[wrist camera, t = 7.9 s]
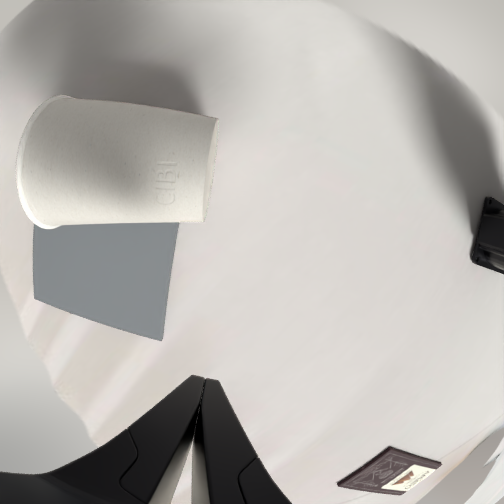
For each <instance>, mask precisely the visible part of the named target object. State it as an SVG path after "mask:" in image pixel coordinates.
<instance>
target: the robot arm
mask: <svg viewBox="0 0 504 504" xmlns="http://www.w3.org/2000/svg"><path fill="white" fill-rule="evenodd" d="M476 258H477V259H476ZM472 262H473V263H474V264H477V265H480V266H482V267H485V268H488V269H491V270H494V271H496V272H499V273H502V274H504V205H503V204H501V203H500V202H498V201H497V200H495V199H494V198H492V197H486V198H485V202H484V208H483V213H482V218H481V223H480V228H479V232H478V237H477V241H476V245H475V249H474V252H473V256H472ZM204 382H205V383H204ZM203 387H204V388H203ZM202 392H203V393H202ZM201 397H202V398H201ZM200 402H201V403H200ZM199 407H200V408H199ZM198 412H199V413H198ZM197 417H198V418H197ZM196 422H197V423H196ZM195 427H196V428H195ZM194 432H195V433H194ZM193 437H194V439H193ZM192 441H193V450H192V504H292V503H291V502H290V501H289V499H288V498H287V497H286V496H285V495H284V494H283V492H282V491H281V490H280V489H279V487H278V486H277V485H276V483H275V482H274V481H273V479H272V478H271V476H270V475H269V473H268V472H267V470H266V469H265V467H264V465H263V463H262V462H261V460H260V458H258V455H257V453H256V451H255V450H254V448H253V446H252V444H251V442H250V441H249V439H248V437H247V435H246V433H245V431H244V429H243V427H242V426H241V424H240V422H239V420H238V418H237V416H236V414H235V412H234V410H233V408H232V406H231V404H230V402H229V400H228V398H227V396H226V394H225V392H224V390H223V388H222V386H221V384H220V382H219V381H218V380H214V379H209V378H206V379H205V378H204V377H200V376H196V375H191V376H190V377H189V378H187V379H186V380H185V381H184V382H183V383H182V384H180V385H179V386H178V387H177V388H176V389H174V390H173V391H172V392H171V393H170V394H169V395H167V396H166V397H165V398H164V399H162V400H161V401H160V402H159V403H158V404H156V405H155V406H154V407H153V408H152V409H150V410H149V411H148V412H147V413H145V414H144V415H143V416H142V417H140V418H139V419H138V420H137V421H135V422H134V423H133V424H132V425H130V426H129V427H128V428H127V429H125V430H124V431H122V432H121V433H120V434H119V435H117V436H116V437H114V438H113V439H112V440H110V441H109V442H107V443H106V444H104V445H103V446H101V447H99V448H97V449H96V450H94V451H92V452H91V453H88V454H86V455H85V456H82V457H81V458H79V459H77V460H75V461H72V462H70V463H69V464H66V465H65V466H62V467H60V468H58V469H56V470H53V471H50V472H47V473H43V474H19V473H8V472H0V504H170V503H171V500H172V498H173V495H174V492H175V489H176V487H177V484H178V481H179V478H180V476H181V473H182V470H183V467H184V464H185V462H186V459H187V456H188V453H189V450H190V448H191V444H192Z"/></svg>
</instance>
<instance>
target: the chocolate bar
mask: <svg viewBox="0 0 504 504" xmlns="http://www.w3.org/2000/svg"><path fill="white" fill-rule="evenodd" d="M441 465H442V464H441V463H440V462H436V461H433V460H429V459H426V458H422V457H419V456H416V455H413V454H409V453H406V452H403V451H400V450H397V449H394V448H392V447H389V448H387V449H386V450H385V451H384V452H382V453H381V454H380V455H378V456H377V457H376V458H374V459H373V460H372V461H370V462H369V463H367V464H366V465H365V466H363V467H362V468H360V469H359V470H357V471H356V472H354V473H353V474H351V475H350V476H348V477H347V478H345V479H344V480H342V481H340V482H339V483H337V485H338V487H343V488H349V489H354V490H360V491H367V492H374V493H382V494H392V495H402V494H404V493H405V492H406V491H408V490H409V489H411V488H412V487H414V486H415V485H416V484H418V483H419V482H421V481H422V480H423V479H425V478H426V477H427V476H429V475H430V474H431V473H432V472H434V471H435V470H436V469H437V468H439V467H440V466H441Z"/></svg>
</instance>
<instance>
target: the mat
mask: <svg viewBox="0 0 504 504" xmlns="http://www.w3.org/2000/svg"><path fill="white" fill-rule="evenodd" d="M178 227H179V222H162V223H111V224H80V225H61V226H59V227H57V228H54V229H44V228H41V227H39V226H37V225H36V224H34V234H33V284H34V299H36V300H39V301H41V302H44V303H46V304H49V305H51V306H54V307H56V308H59V309H61V310H64V311H67V312H69V313H72V314H75V315H78V316H80V317H83V318H86V319H89V320H92V321H95V322H98V323H101V324H104V325H107V326H110V327H113V328H117V329H120V330H123V331H127V332H130V333H133V334H137V335H140V336H144V337H148V338H151V339H155V340H159V341H162V339H163V333H164V323H165V315H166V306H167V298H168V291H169V283H170V276H171V269H172V263H173V256H174V250H175V244H176V238H177V232H178Z"/></svg>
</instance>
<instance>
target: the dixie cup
mask: <svg viewBox="0 0 504 504" xmlns="http://www.w3.org/2000/svg"><path fill="white" fill-rule="evenodd" d="M218 132H219V119H218V118H213V117H209V116H204V115H199V114H194V113H189V112H184V111H178V110H173V109H167V108H161V107H155V106H148V105H141V104H133V103H125V102H116V101H105V100H93V99H77V98H72V97H70V96H67V95H57V96H54V97H52V98H50V99H48V100H46V101H45V102H44V103H42V104H41V105H40V106H39V107H38V108H37V110H36V111H35V112H34V113H33V115H32V116H31V118H30V119H29V121H28V123H27V125H26V127H25V129H24V132H23V134H22V137H21V140H20V143H19V147H18V152H17V159H16V184H17V191H18V195H19V199H20V202H21V205H22V207H23V209H24V211H25V213H26V214H27V216H28V217H29V219H30V220H31V221H32V222H33V223H34V224H36V225H37V226H39V227H41V228H44V229H54V228H57V227H59V226H61V225H80V224H111V223H162V222H204V221H205V218H206V215H207V210H208V205H209V200H210V194H211V188H212V181H213V174H214V167H215V160H216V152H217V143H218Z"/></svg>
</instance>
